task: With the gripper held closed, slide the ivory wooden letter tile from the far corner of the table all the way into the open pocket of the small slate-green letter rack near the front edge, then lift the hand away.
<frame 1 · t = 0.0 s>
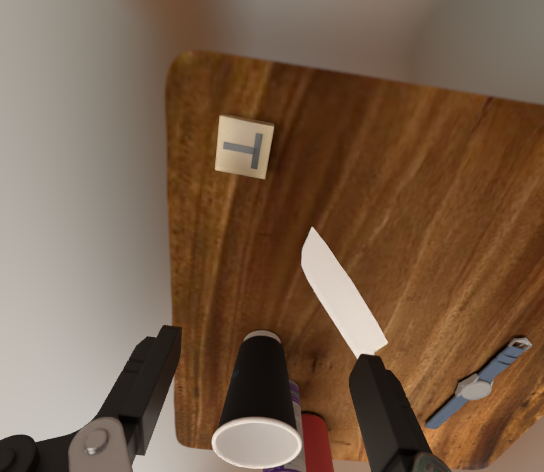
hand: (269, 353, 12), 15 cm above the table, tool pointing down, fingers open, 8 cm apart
dixie cup: (262, 342, 33), on the table
knife: (363, 336, 32), on the table
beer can: (304, 421, 41), on the table
wristwatch: (468, 384, 36), on the table
container: (282, 387, 37), on the table
letter tile: (246, 144, 22), on the table
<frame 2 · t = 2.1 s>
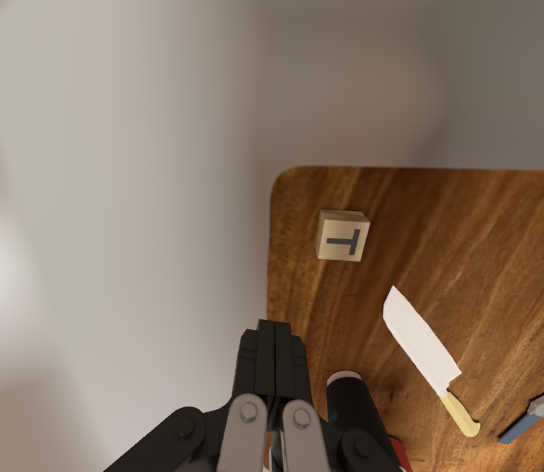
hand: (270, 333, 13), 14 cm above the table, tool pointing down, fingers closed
dixie cup: (344, 380, 37), on the table
knife: (437, 368, 35), on the table
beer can: (380, 443, 44), on the table
wristwatch: (540, 402, 38), on the table
letter tile: (337, 229, 26), on the table
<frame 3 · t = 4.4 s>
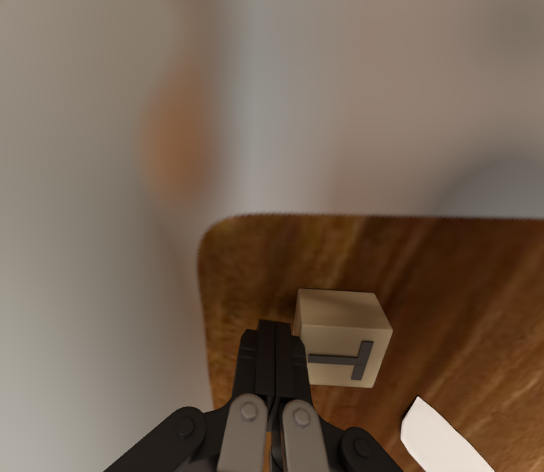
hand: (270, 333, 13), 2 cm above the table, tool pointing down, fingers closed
letter tile: (330, 318, 15), on the table, touching gripper
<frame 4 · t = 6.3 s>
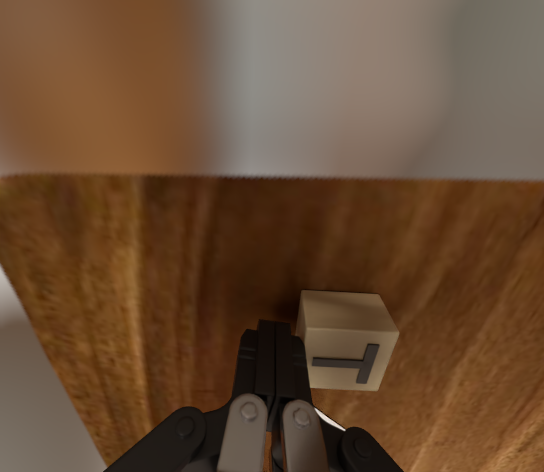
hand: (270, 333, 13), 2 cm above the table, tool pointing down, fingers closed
letter tile: (333, 320, 14), on the table, touching gripper
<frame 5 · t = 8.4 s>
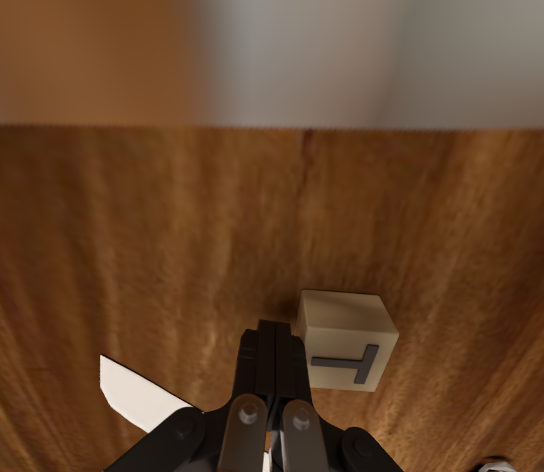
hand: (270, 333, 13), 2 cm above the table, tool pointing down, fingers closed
knife: (259, 467, 22), on the table
letter tile: (333, 320, 14), on the table, touching gripper
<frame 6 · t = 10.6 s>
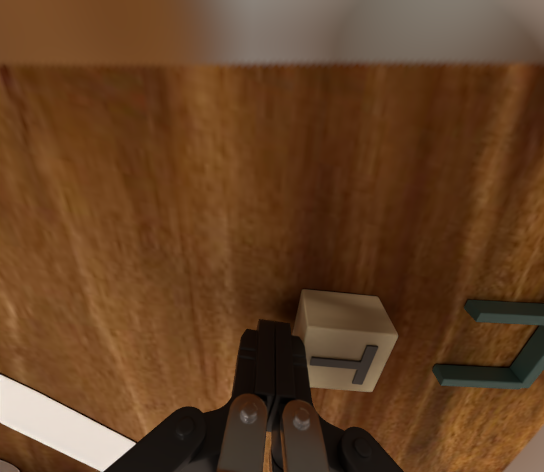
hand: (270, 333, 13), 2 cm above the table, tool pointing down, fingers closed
knife: (126, 452, 21), on the table
letter rack: (488, 339, 15), on the table
letter tile: (331, 320, 14), on the table, touching gripper
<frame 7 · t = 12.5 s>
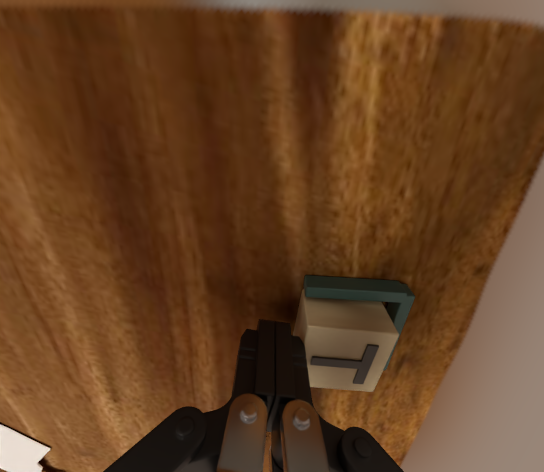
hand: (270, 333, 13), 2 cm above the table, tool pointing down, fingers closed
knife: (11, 441, 21), on the table
letter rack: (341, 319, 14), on the table
letter tile: (332, 320, 14), on the table, touching gripper
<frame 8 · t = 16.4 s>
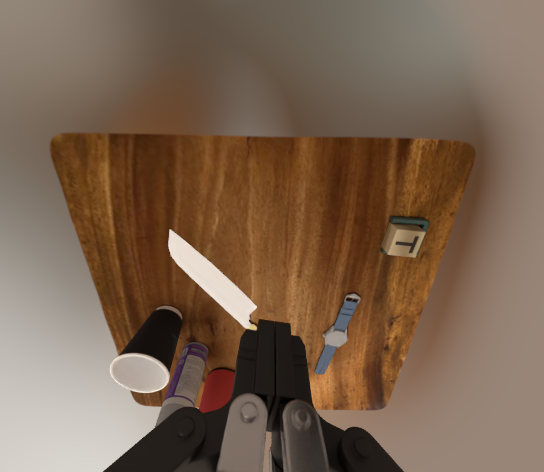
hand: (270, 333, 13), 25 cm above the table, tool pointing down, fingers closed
dixie cup: (168, 315, 46), on the table
knife: (238, 303, 44), on the table
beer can: (223, 377, 53), on the table
wristwatch: (333, 334, 47), on the table
letter rack: (401, 234, 38), on the table
container: (196, 349, 49), on the table
letter tile: (398, 235, 38), on the table
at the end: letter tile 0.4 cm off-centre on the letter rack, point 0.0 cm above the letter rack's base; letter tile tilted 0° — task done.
